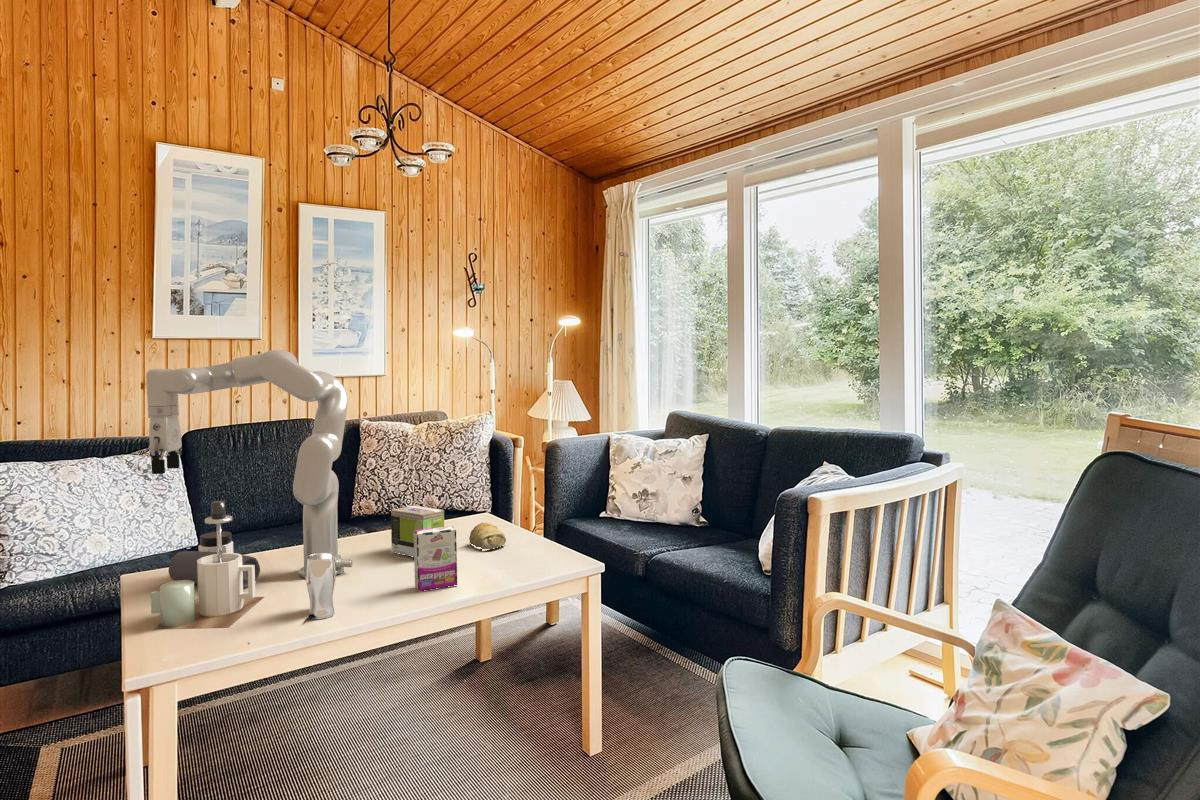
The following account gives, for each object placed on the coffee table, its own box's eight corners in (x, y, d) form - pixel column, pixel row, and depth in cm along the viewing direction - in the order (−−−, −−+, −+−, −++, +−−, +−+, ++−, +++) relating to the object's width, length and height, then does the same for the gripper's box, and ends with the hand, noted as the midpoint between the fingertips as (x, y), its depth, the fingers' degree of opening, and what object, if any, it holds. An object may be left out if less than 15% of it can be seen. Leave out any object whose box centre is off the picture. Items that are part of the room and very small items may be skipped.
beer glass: (311, 610, 177) (310, 552, 176) (339, 609, 178) (338, 551, 177) (302, 620, 170) (301, 560, 169) (331, 619, 171) (330, 559, 170)
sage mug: (200, 615, 170) (199, 579, 169) (186, 627, 163) (184, 589, 162) (160, 616, 169) (159, 580, 169) (144, 628, 162) (143, 590, 162)
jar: (200, 581, 200) (199, 539, 199) (198, 573, 207) (197, 533, 206) (235, 575, 205) (234, 535, 204) (232, 568, 212) (231, 529, 211)
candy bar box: (452, 581, 201) (452, 525, 200) (457, 586, 196) (457, 529, 195) (413, 587, 196) (413, 529, 195) (417, 592, 191) (417, 533, 190)
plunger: (239, 563, 177) (237, 499, 176) (227, 571, 170) (225, 504, 169) (212, 564, 176) (210, 499, 175) (199, 572, 170) (197, 505, 169)
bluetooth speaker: (262, 585, 196) (261, 550, 195) (238, 596, 187) (237, 560, 186) (194, 579, 201) (193, 545, 201) (167, 590, 192) (166, 554, 192)
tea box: (445, 553, 229) (445, 509, 228) (422, 561, 221) (422, 514, 220) (413, 546, 237) (413, 503, 236) (390, 553, 229) (389, 509, 228)
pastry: (476, 540, 246) (475, 518, 246) (510, 541, 245) (510, 519, 244) (463, 551, 232) (462, 527, 232) (499, 553, 231) (499, 529, 230)
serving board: (264, 601, 184) (264, 596, 184) (228, 632, 163) (228, 627, 163) (197, 602, 182) (197, 598, 182) (152, 634, 161) (152, 629, 161)
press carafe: (262, 602, 179) (260, 552, 179) (246, 616, 170) (244, 563, 169) (210, 603, 178) (208, 553, 178) (191, 617, 169) (189, 564, 168)
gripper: (164, 414, 192) (167, 475, 193) (189, 409, 209) (192, 465, 210) (134, 414, 191) (137, 476, 192) (162, 409, 208) (165, 466, 209)
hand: (166, 470), depth 201 cm, fingers open, 9 cm apart
